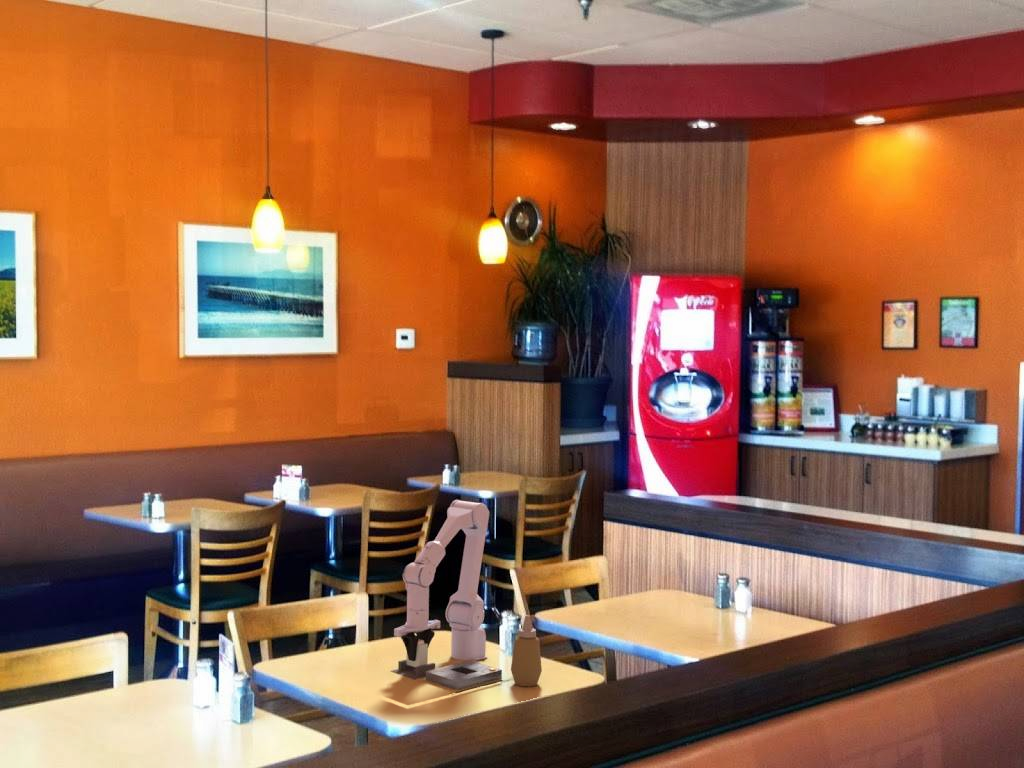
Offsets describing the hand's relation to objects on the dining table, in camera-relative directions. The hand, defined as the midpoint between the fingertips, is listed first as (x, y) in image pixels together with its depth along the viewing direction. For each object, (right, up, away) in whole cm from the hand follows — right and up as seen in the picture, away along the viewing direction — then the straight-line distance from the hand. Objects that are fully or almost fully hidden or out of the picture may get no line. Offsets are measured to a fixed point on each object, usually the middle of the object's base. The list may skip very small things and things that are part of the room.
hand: (417, 658), depth 336 cm
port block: (+13, -5, -5) cm, 15 cm away
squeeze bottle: (+29, -5, -6) cm, 30 cm away
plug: (0, -2, 0) cm, 2 cm away
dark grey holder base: (0, -4, 0) cm, 4 cm away
